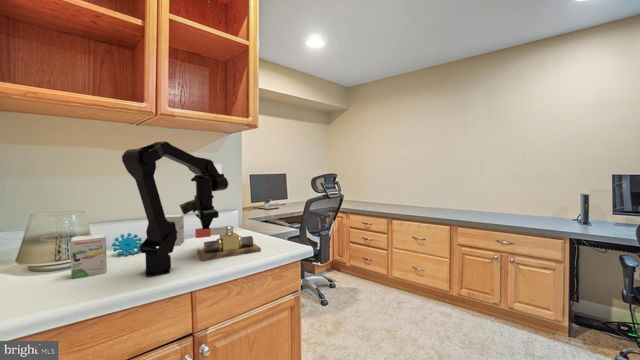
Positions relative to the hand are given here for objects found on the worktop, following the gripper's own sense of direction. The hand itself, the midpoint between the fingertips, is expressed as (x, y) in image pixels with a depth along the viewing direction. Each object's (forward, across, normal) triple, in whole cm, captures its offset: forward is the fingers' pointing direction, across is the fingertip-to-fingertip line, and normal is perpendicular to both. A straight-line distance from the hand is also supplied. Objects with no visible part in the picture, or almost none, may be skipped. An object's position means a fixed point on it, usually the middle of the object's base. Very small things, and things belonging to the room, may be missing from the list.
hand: (205, 233), depth 110 cm
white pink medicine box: (+8, +2, -35) cm, 36 cm away
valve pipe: (+8, +3, +8) cm, 12 cm away
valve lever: (+1, +3, +3) cm, 4 cm away
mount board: (+8, +3, +8) cm, 12 cm away
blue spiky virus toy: (+9, -17, -25) cm, 31 cm away
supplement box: (+9, -24, -9) cm, 27 cm away
